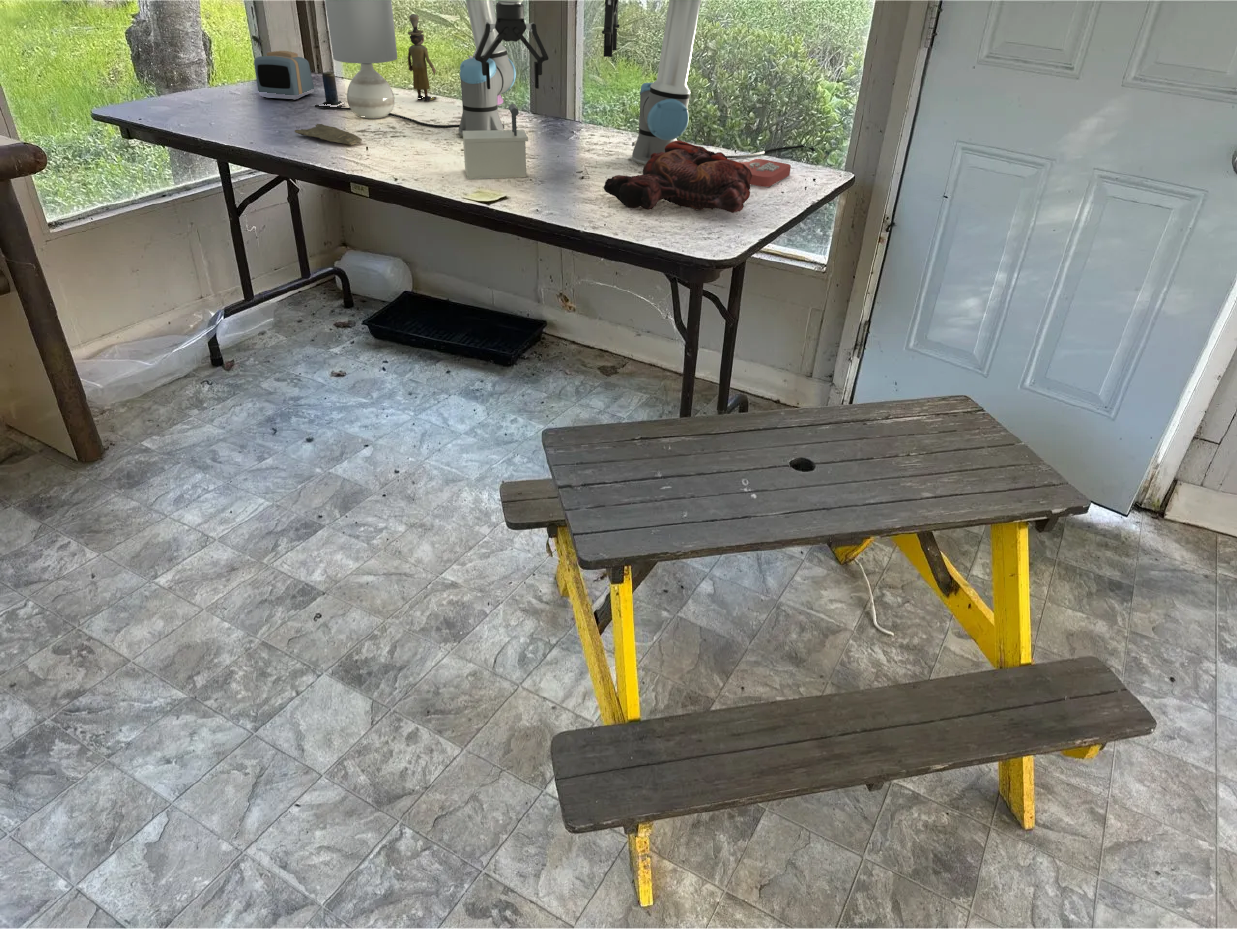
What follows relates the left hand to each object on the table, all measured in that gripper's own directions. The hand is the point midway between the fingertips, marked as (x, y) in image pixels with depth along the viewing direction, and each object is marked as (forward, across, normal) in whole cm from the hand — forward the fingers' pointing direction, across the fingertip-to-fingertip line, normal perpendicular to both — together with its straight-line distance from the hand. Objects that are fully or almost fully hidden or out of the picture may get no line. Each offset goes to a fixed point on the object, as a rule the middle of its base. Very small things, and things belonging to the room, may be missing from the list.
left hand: (610, 53), depth 276 cm
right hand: (+3, -49, +22) cm, 54 cm away
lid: (+16, -51, +28) cm, 60 cm away
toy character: (+27, +32, +49) cm, 64 cm away
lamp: (+27, +12, +87) cm, 92 cm away
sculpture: (+26, -71, -26) cm, 80 cm away
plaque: (+26, -40, -50) cm, 69 cm away
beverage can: (+27, +24, +106) cm, 112 cm away
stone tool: (+27, -23, +89) cm, 96 cm away
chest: (+27, -51, +28) cm, 64 cm away
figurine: (+27, +44, +77) cm, 93 cm away
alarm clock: (+27, +37, +130) cm, 138 cm away
